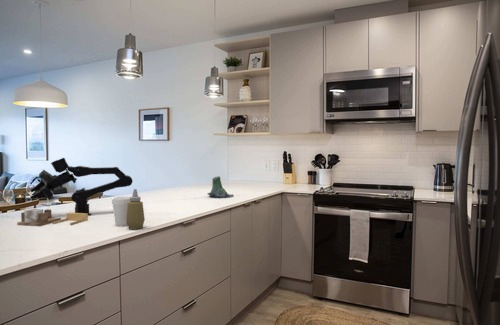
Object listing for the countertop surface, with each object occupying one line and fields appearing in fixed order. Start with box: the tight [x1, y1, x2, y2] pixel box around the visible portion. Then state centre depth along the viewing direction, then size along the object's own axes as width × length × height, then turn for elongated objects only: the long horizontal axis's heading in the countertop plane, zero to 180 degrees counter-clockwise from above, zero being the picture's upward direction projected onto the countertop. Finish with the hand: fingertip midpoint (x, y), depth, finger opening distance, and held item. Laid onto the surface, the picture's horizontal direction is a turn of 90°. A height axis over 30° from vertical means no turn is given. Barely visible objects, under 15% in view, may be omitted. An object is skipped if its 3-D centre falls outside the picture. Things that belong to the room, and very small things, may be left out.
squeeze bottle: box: [126, 188, 145, 230], centre depth 154 cm, size 8×8×18 cm
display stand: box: [16, 208, 62, 227], centre depth 166 cm, size 13×13×7 cm
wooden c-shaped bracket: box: [52, 212, 89, 226], centre depth 167 cm, size 11×11×4 cm
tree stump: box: [207, 176, 234, 199], centre depth 254 cm, size 18×20×18 cm
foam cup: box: [111, 196, 131, 227], centre depth 161 cm, size 10×9×13 cm
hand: (31, 194), depth 175 cm, fingers open, 9 cm apart
